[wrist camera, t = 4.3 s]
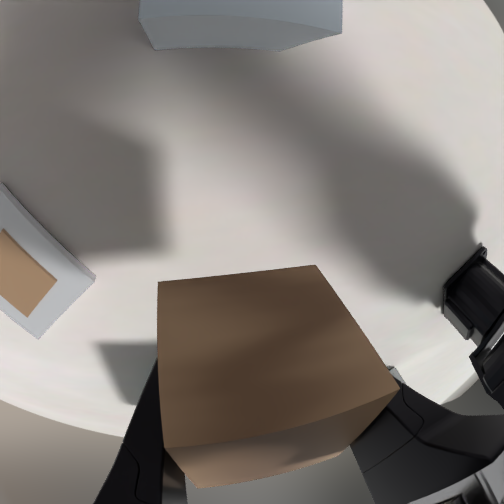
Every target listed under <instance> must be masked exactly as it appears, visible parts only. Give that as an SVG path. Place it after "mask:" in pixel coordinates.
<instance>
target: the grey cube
mask: <svg viewBox="0 0 504 504" xmlns="http://www.w3.org/2000/svg"><path fill="white" fill-rule="evenodd" d="M138 20H139V22H140V24H141V26H142V27H143V29H144V31H145V33H146V35H147V37H148V39H149V40H150V42H151V44H152V46H153V48H154V50H163V49H177V48H207V47H215V48H245V49H259V50H270V51H279V52H280V51H282V50H285V49H288V48H291V47H295V46H298V45H301V44H304V43H308V42H311V41H314V40H318V39H322V38H325V37H329V36H333V35H338V34H342V0H140V6H139V17H138Z"/></svg>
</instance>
